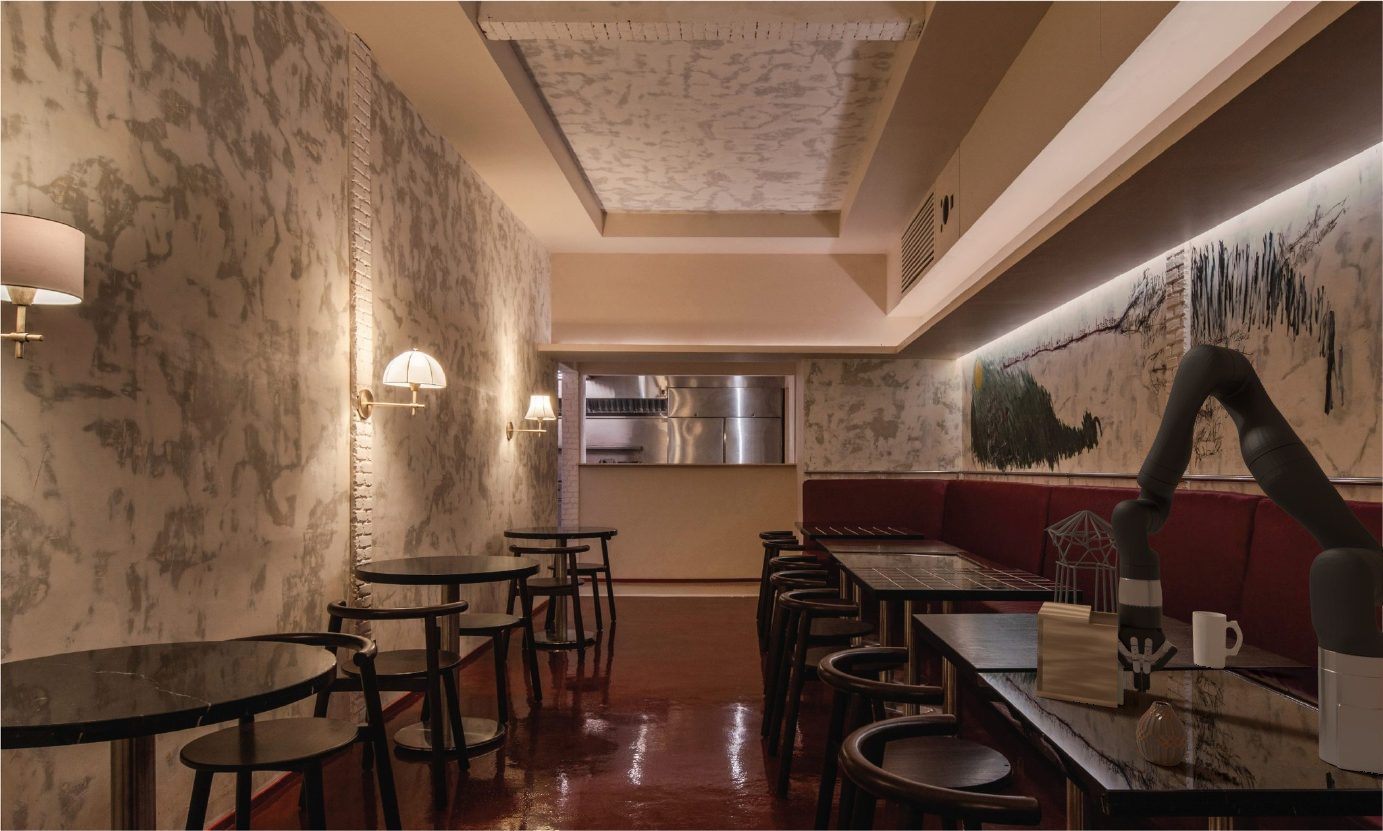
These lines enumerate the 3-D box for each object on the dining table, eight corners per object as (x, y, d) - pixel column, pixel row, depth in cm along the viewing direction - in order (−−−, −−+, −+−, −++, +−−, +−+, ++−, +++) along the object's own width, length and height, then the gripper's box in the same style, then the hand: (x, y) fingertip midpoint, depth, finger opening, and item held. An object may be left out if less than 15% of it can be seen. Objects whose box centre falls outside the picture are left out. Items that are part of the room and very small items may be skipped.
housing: (1117, 708, 158) (1117, 621, 159) (1036, 696, 164) (1037, 613, 165) (1117, 687, 174) (1117, 608, 175) (1043, 677, 180) (1044, 601, 181)
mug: (1195, 666, 196) (1195, 614, 197) (1190, 660, 202) (1190, 610, 203) (1246, 672, 192) (1245, 619, 193) (1239, 666, 198) (1239, 614, 199)
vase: (1170, 754, 132) (1170, 697, 132) (1198, 770, 125) (1198, 710, 125) (1127, 753, 132) (1127, 696, 132) (1152, 769, 125) (1152, 709, 125)
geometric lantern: (1105, 650, 211) (1106, 510, 213) (1132, 665, 195) (1133, 513, 197) (1040, 647, 212) (1042, 507, 214) (1061, 661, 197) (1063, 510, 199)
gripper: (1102, 601, 165) (1104, 691, 164) (1180, 607, 159) (1182, 700, 158) (1103, 596, 172) (1104, 683, 170) (1177, 602, 166) (1179, 692, 164)
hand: (1142, 691), depth 164 cm, fingers closed
